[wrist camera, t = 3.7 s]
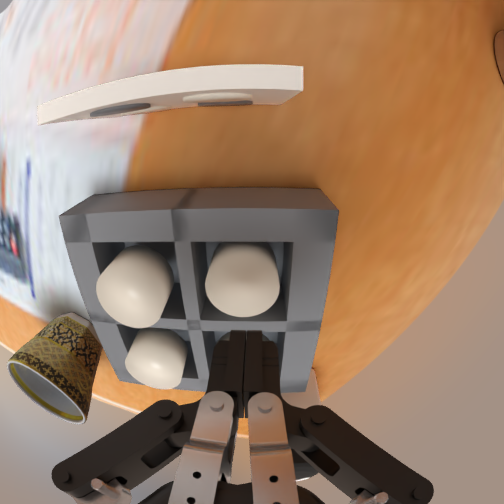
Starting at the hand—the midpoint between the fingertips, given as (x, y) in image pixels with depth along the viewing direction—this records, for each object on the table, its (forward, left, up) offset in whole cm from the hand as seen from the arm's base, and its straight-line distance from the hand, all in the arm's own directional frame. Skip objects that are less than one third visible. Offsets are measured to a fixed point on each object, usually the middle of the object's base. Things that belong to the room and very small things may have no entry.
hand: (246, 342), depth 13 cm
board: (+4, +3, -10) cm, 11 cm away
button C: (+7, 0, -6) cm, 9 cm away
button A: (0, 0, -8) cm, 8 cm away
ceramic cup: (+21, +12, -10) cm, 26 cm away
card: (+4, -12, -10) cm, 16 cm away
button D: (+7, +7, -6) cm, 12 cm away
